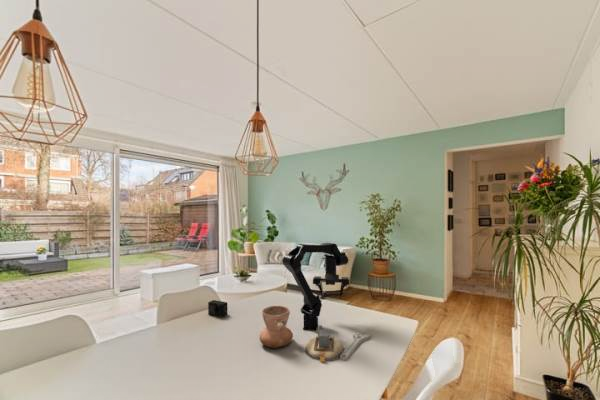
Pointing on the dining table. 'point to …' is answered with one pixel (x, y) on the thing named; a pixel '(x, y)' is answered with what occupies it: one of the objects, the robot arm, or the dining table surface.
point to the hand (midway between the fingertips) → (331, 297)
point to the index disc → (330, 352)
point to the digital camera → (217, 308)
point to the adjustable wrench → (354, 345)
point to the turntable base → (323, 357)
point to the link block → (324, 339)
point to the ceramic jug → (276, 327)
